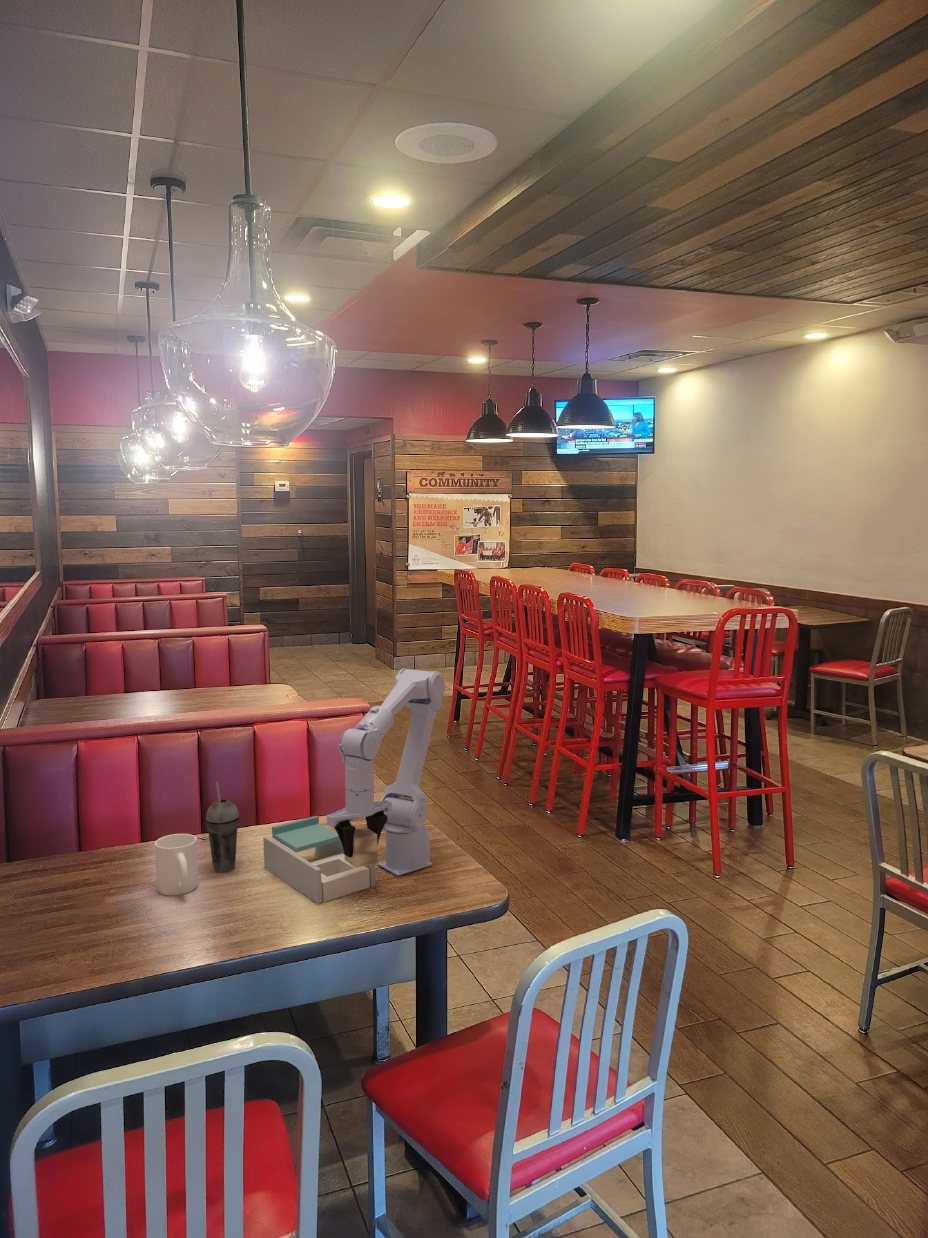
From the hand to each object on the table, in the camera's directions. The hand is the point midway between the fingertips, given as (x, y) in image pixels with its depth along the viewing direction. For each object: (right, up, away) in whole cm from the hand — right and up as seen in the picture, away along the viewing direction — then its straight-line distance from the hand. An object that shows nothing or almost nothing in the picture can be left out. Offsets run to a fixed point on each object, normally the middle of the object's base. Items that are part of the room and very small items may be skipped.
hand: (360, 852), depth 177 cm
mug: (-38, -9, +2) cm, 39 cm away
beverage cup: (-32, -8, +14) cm, 35 cm away
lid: (-13, 0, +12) cm, 18 cm away
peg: (0, -2, 0) cm, 2 cm away
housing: (-10, -8, +10) cm, 16 cm away
